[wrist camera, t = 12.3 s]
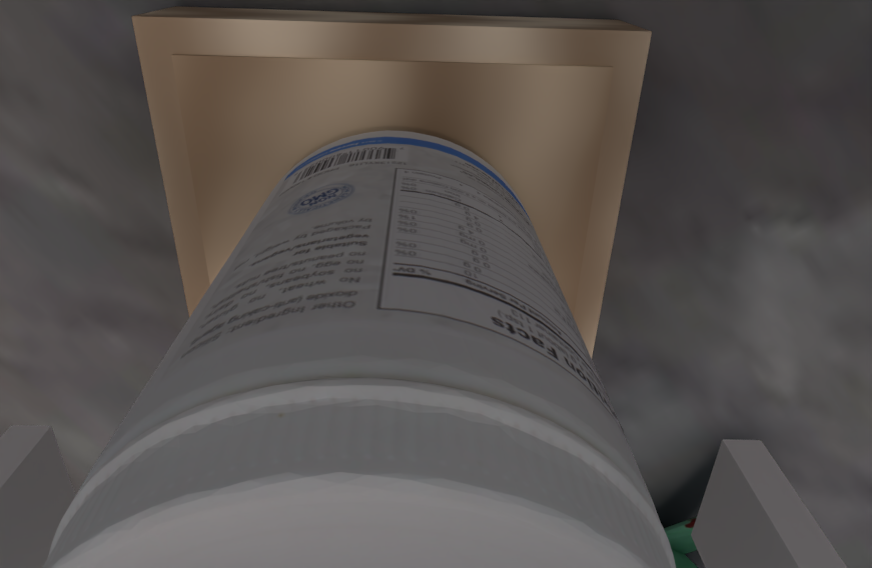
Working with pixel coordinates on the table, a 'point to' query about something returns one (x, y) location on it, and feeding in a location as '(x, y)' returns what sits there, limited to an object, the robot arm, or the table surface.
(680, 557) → the mug
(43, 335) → the table surface
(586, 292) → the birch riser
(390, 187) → the supplement tub
